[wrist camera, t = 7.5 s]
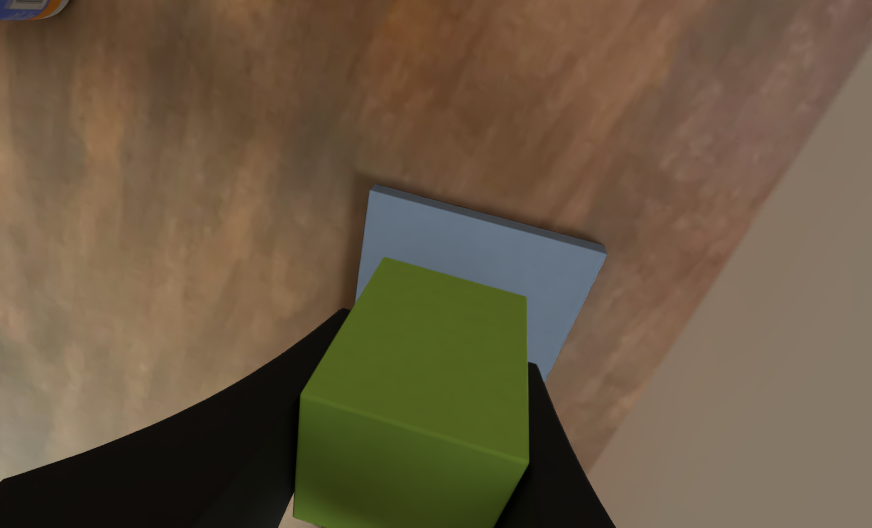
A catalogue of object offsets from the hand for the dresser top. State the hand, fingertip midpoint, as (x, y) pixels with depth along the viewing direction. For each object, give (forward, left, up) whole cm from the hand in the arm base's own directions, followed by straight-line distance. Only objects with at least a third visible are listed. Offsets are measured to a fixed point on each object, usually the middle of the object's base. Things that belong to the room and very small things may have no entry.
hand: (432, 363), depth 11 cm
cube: (0, 0, -1) cm, 1 cm away
